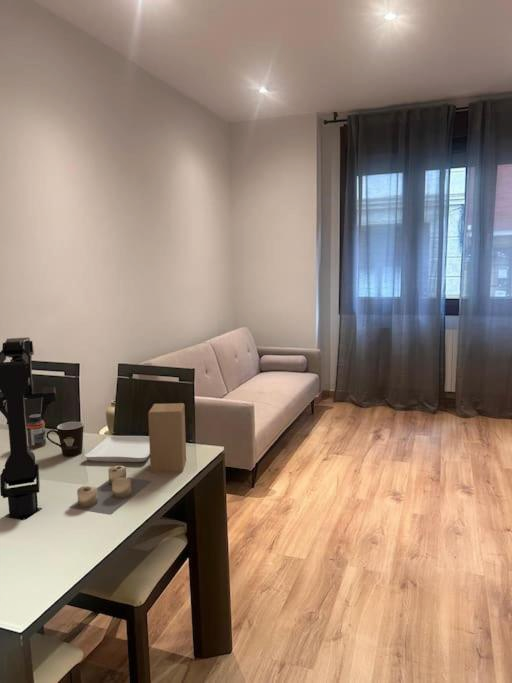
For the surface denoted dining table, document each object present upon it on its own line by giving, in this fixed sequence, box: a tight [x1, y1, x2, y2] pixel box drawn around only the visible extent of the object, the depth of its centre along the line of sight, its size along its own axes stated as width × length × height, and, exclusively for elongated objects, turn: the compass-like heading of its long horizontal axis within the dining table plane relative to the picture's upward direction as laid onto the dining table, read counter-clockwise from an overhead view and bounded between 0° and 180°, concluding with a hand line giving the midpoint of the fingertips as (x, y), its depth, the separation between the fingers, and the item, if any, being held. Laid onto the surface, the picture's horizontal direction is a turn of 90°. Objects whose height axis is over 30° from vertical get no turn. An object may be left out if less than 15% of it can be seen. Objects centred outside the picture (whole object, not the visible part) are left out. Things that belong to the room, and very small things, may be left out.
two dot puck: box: [107, 465, 127, 485], centre depth 143 cm, size 5×5×4 cm
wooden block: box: [147, 402, 187, 474], centre depth 154 cm, size 10×10×20 cm
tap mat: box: [68, 477, 153, 516], centre depth 136 cm, size 21×13×1 cm, turn 162°
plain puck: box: [112, 477, 131, 499], centre depth 135 cm, size 5×5×4 cm
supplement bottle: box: [26, 413, 47, 449], centre depth 176 cm, size 6×6×11 cm
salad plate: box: [84, 435, 150, 463], centre depth 168 cm, size 21×21×3 cm
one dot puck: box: [76, 484, 98, 508], centre depth 130 cm, size 5×5×4 cm
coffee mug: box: [45, 421, 85, 458], centre depth 168 cm, size 12×9×10 cm
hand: (26, 420), depth 155 cm, fingers open, 9 cm apart
